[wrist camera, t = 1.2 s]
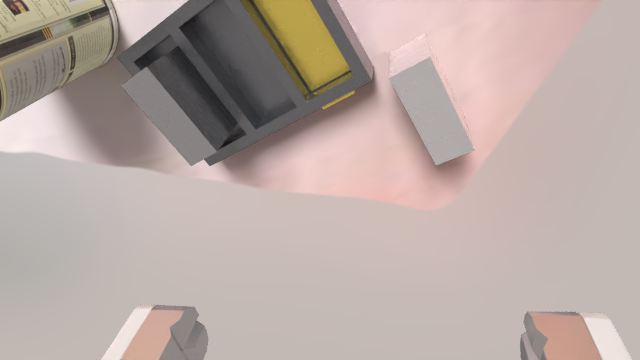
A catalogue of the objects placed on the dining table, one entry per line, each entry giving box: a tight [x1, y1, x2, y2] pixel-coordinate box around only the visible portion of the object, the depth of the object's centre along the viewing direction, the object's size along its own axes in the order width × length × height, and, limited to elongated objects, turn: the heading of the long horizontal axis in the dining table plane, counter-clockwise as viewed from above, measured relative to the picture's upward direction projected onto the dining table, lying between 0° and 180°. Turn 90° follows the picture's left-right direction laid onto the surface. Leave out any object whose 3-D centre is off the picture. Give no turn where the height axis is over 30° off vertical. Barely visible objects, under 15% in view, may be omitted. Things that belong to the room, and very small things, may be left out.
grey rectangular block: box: [389, 33, 474, 165], centre depth 31 cm, size 3×8×6 cm, turn 33°
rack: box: [117, 0, 374, 166], centre depth 32 cm, size 18×12×7 cm
